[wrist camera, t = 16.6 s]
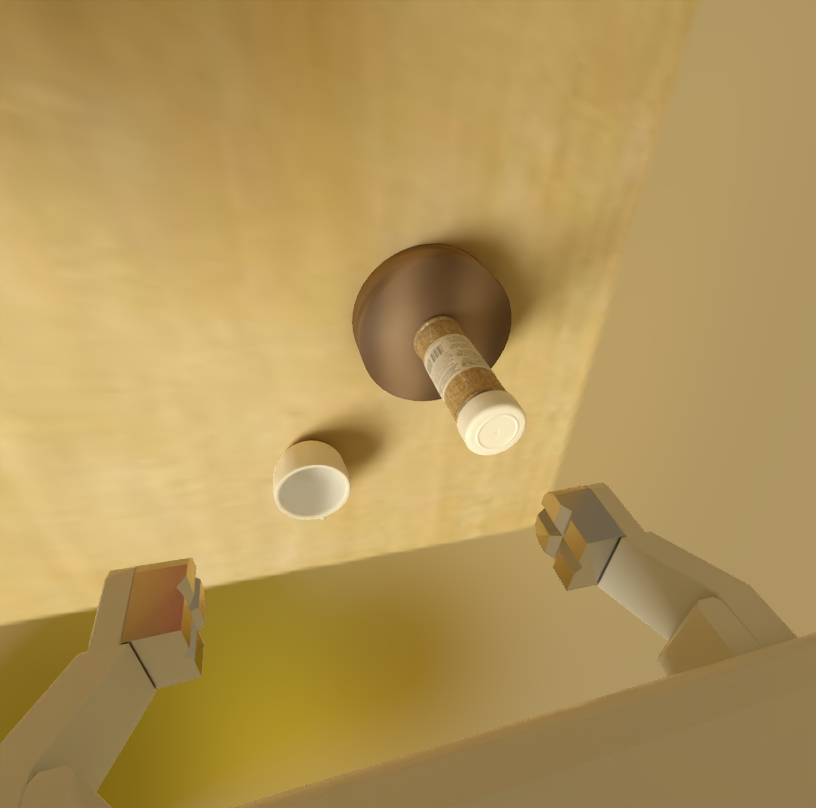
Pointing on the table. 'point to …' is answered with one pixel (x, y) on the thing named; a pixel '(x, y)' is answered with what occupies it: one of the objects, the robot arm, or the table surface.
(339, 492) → the teacup
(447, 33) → the table surface
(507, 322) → the disc
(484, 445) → the sprinkles bottle
